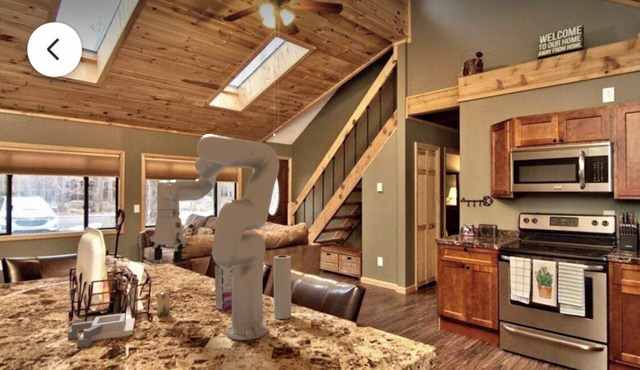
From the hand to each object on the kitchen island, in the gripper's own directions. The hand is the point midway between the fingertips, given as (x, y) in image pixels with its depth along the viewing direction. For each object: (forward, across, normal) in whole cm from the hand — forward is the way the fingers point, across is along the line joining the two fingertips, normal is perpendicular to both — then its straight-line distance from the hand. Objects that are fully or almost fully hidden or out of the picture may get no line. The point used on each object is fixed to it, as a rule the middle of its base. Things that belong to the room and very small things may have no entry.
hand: (167, 260), depth 135 cm
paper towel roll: (+19, -41, -14) cm, 47 cm away
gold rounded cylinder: (+19, 0, +2) cm, 19 cm away
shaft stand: (+19, +3, +24) cm, 31 cm away
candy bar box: (+19, -16, -16) cm, 30 cm away
